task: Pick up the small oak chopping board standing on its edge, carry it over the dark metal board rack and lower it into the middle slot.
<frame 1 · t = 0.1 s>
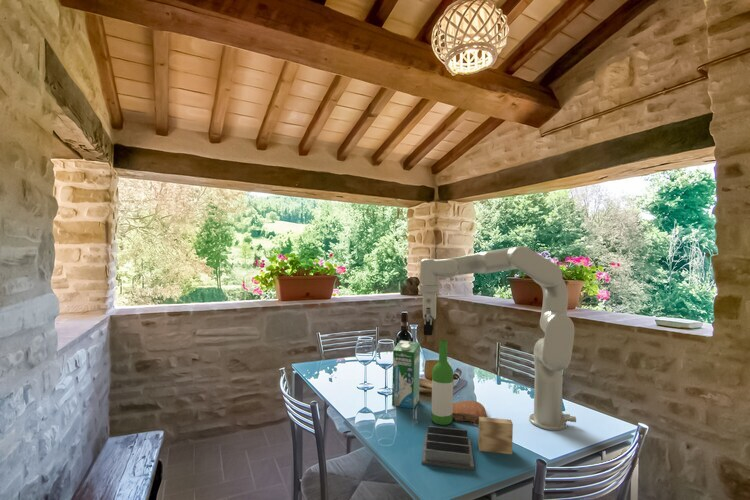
hand: (428, 332, 150), 31 cm above the table, tool pointing down, fingers open, 9 cm apart
oak board: (494, 450, 121), on the table
milk carton: (405, 403, 157), on the table
wine bottle: (441, 421, 141), on the table
rack: (447, 452, 119), on the table
ceramic shard: (465, 416, 147), on the table
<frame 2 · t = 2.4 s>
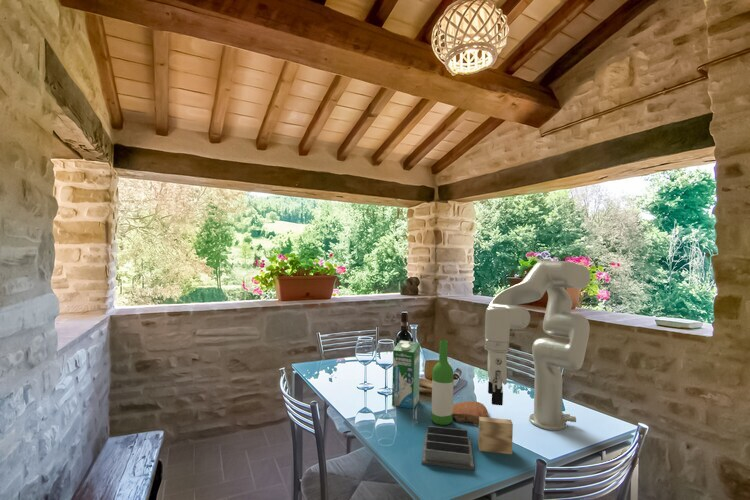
hand: (495, 399, 121), 16 cm above the table, tool pointing down, fingers open, 9 cm apart
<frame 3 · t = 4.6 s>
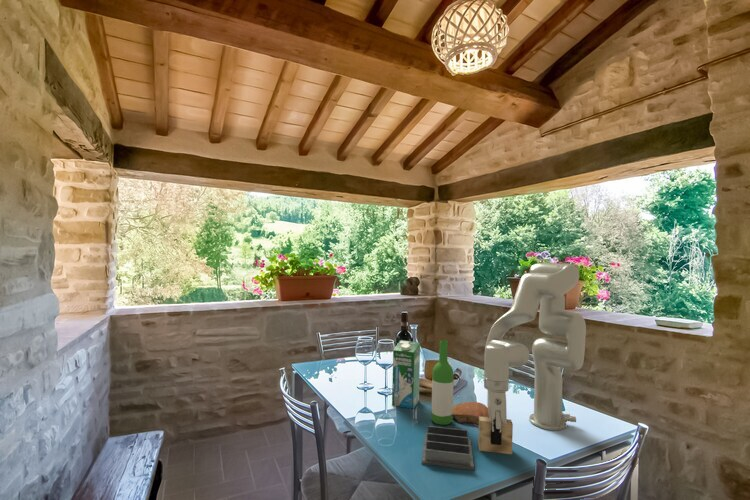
hand: (495, 440, 121), 3 cm above the table, tool pointing down, fingers closed on oak board, 3 cm apart
oak board: (494, 449, 121), on the table, touching gripper
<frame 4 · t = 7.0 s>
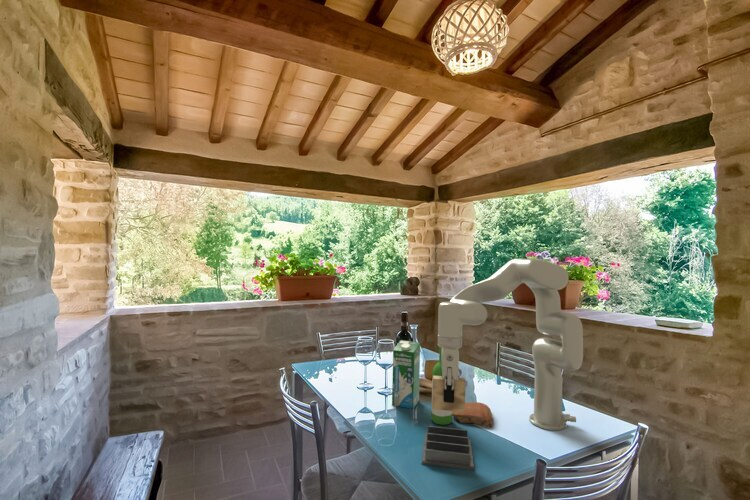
hand: (448, 399, 119), 17 cm above the table, tool pointing down, fingers closed on oak board, 3 cm apart
oak board: (448, 408, 119), point 14 cm above the table, touching gripper
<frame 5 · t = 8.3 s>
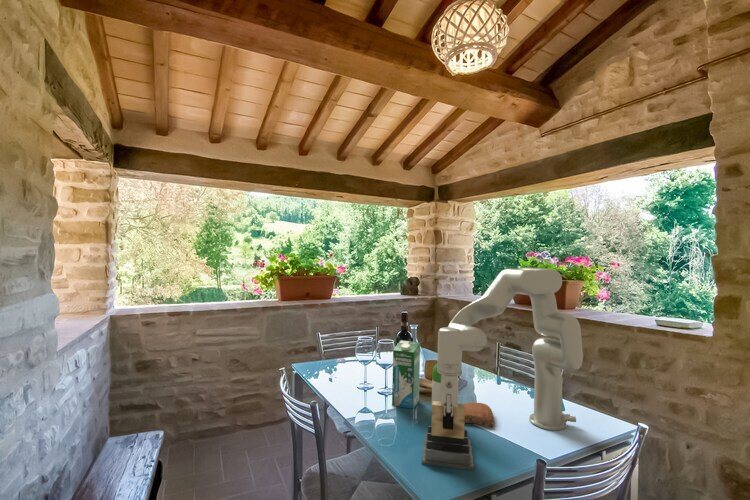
hand: (447, 425, 119), 8 cm above the table, tool pointing down, fingers closed on oak board, 3 cm apart
oak board: (447, 434, 119), point 5 cm above the table, touching gripper
when the fingers open (6 cm above the table, at t = 9.5 s): oak board drops 2 cm, resting on rack.
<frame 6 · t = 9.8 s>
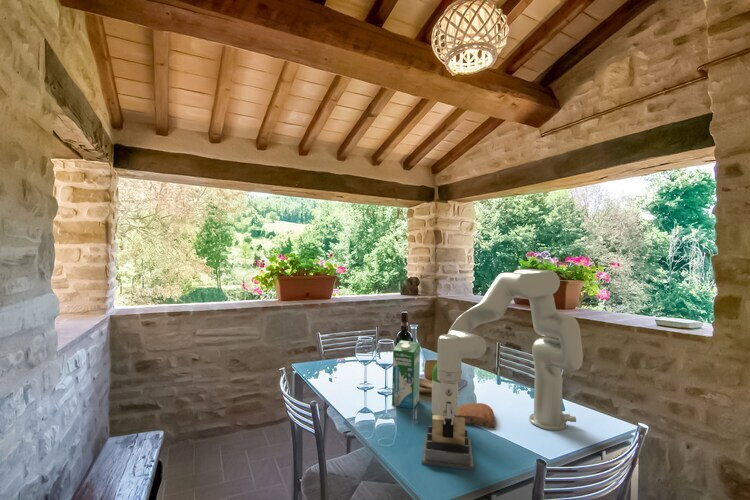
hand: (447, 431, 119), 7 cm above the table, tool pointing down, fingers open, 6 cm apart
oak board: (447, 448, 119), point 1 cm above the table, touching rack
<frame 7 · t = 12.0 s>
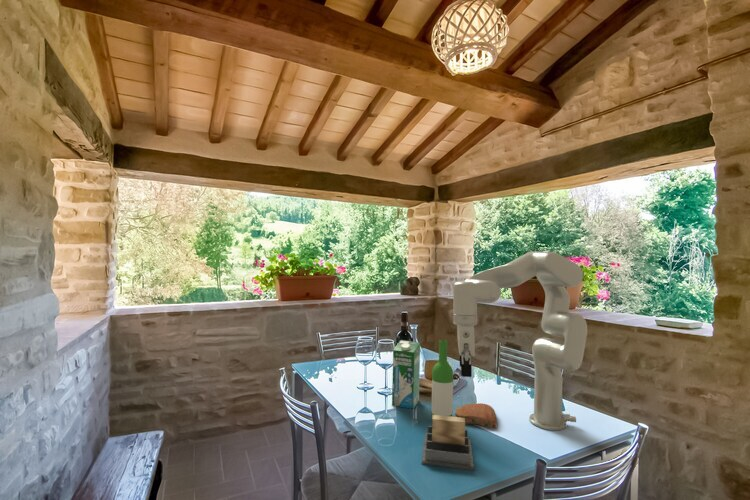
hand: (465, 371, 123), 24 cm above the table, tool pointing down, fingers open, 9 cm apart
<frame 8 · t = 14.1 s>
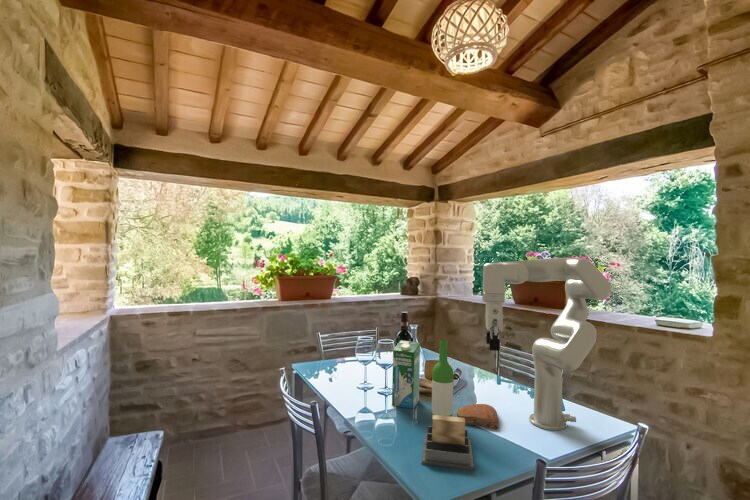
hand: (492, 346, 132), 30 cm above the table, tool pointing down, fingers open, 9 cm apart
at the end: oak board 0.2 cm off-centre on the rack, point 1.0 cm above the rack's base; oak board tilted 0°; the gripper is holding nothing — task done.
